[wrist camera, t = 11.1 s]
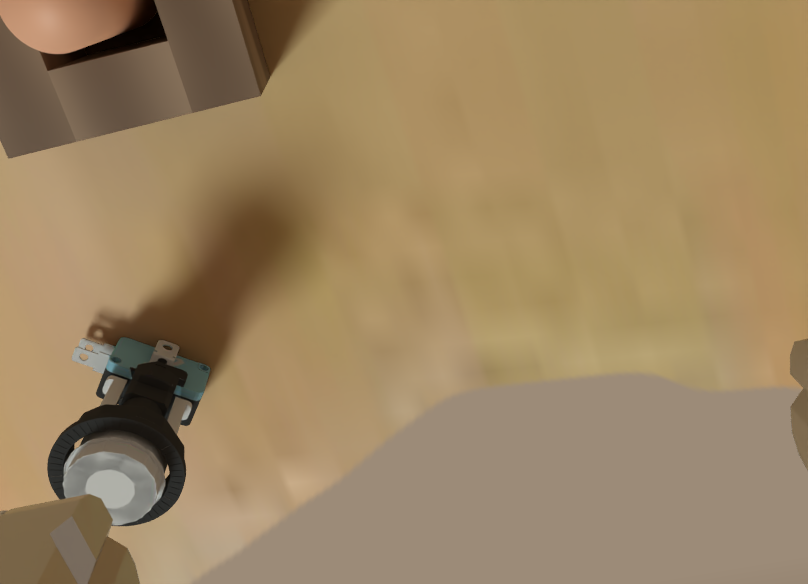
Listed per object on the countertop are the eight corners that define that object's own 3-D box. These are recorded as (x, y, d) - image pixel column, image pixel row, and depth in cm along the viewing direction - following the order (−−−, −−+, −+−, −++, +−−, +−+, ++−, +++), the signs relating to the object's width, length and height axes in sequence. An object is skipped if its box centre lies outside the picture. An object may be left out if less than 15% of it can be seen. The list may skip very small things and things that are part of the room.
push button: (67, 380, 39) (-13, 510, 30) (99, 292, 37) (24, 401, 28) (194, 422, 41) (154, 557, 31) (230, 340, 39) (199, 458, 30)
